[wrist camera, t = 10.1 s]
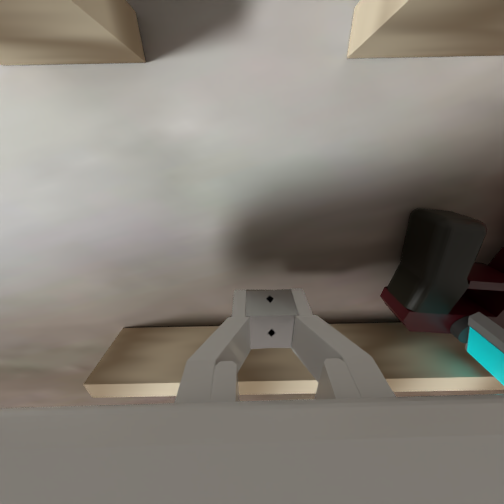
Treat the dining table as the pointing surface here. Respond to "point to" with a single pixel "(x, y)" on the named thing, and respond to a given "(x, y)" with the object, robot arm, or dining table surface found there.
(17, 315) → the dining table surface
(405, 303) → the toy gun
